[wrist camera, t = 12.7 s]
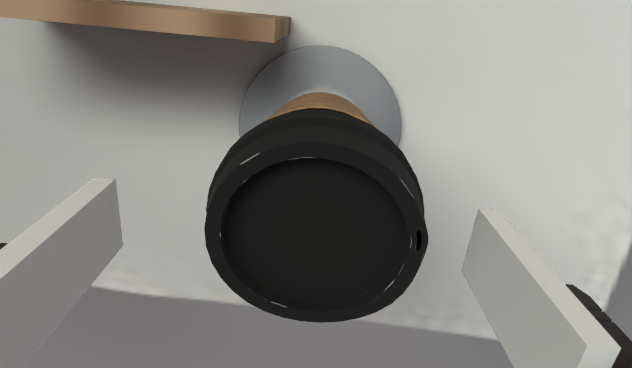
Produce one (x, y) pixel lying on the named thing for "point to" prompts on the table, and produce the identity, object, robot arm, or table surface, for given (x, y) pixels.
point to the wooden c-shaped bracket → (152, 18)
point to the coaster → (322, 71)
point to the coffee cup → (316, 213)
